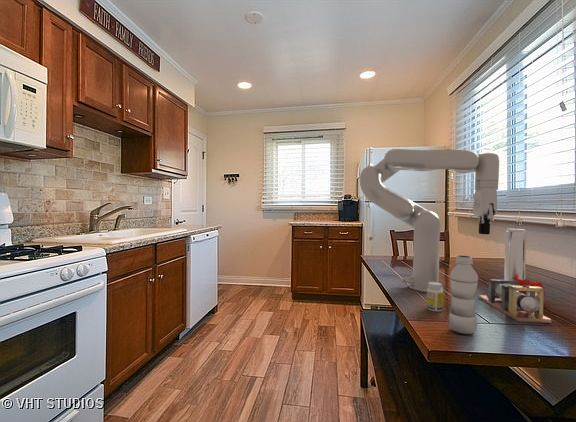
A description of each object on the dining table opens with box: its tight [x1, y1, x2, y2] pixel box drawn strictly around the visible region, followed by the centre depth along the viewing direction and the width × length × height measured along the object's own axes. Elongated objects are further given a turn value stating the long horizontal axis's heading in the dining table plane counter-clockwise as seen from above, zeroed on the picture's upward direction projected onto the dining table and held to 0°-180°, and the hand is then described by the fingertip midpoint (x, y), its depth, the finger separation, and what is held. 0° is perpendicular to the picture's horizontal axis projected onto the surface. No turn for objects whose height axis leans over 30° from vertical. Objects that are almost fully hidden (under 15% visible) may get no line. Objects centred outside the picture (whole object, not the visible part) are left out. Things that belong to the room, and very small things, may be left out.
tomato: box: [516, 278, 546, 300], centre depth 107 cm, size 9×9×8 cm
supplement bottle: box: [426, 282, 444, 313], centre depth 98 cm, size 5×5×8 cm
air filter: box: [503, 228, 527, 285], centre depth 119 cm, size 6×6×25 cm
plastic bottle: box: [448, 254, 479, 335], centre depth 80 cm, size 6×7×20 cm
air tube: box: [495, 283, 540, 313], centre depth 97 cm, size 5×16×5 cm, turn 172°
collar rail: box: [478, 278, 552, 324], centre depth 99 cm, size 9×23×9 cm, turn 172°
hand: (484, 233), depth 116 cm, fingers closed
